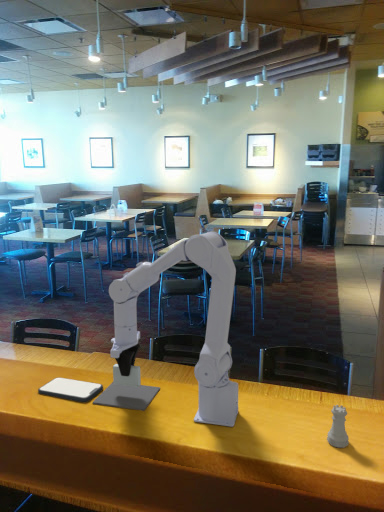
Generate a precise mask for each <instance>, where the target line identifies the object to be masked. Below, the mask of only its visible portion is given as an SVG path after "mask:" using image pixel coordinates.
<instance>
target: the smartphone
mask: <svg viewBox="0 0 384 512" xmlns="http://www.w3.org/2000/svg"><path fill="white" fill-rule="evenodd" d="M103 391H104V385H103V384H102V383H96V382H90V381H85V380H78V379H77V380H76V379H71V378H64V377H55V378H53V379H52V380H50V381H48V382H47V383H45V384H44V385H42V386H41V387H38V389H37V393H38V394H40V395H44V396H49V397H54V398H58V399H64V400H70V401H74V402H79V403H88V402H90V401H91V400H92V399H94V398H95V397H96V396H97V395H98V394H101V393H102V392H103Z"/></svg>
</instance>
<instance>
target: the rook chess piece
mask: <svg viewBox="0 0 384 512" xmlns="http://www.w3.org/2000/svg"><path fill="white" fill-rule="evenodd" d="M331 413H332V416H331V419H332V424H331V428H330V429H329V431H328V432H327V436H326V441H327V443H329V444H330V445H331V446H332V447H335V448H339V449H344V448H346V447H347V446H349V443H350V442H349V435H348V434H347V431H346V426H345V425H346V421H347V419H346V416H347V415H348V412H347V408H346V407H345V406H343V405H339V404H336V405H333V406H332V409H331Z"/></svg>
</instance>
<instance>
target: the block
mask: <svg viewBox="0 0 384 512" xmlns="http://www.w3.org/2000/svg"><path fill="white" fill-rule="evenodd" d="M112 378H113V379H112V380H113V381H112V382H114V384H116V385H124V386H133V387H139V386H140V385H142V384H141V383H142V381H141V366H140V365H134V366H131V369H130V375H129V376H121V373H120V370H119V366H118V364H117V363H115V364H114V365H113V366H112Z"/></svg>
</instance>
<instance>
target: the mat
mask: <svg viewBox="0 0 384 512" xmlns="http://www.w3.org/2000/svg"><path fill="white" fill-rule="evenodd" d="M160 390H161V387H160V386H151V385H144V384H141V385H140V386H139V387H133V386H124V385H116V384H114V382H113V381H112V382H111V383H110V384H109V385H108V386H107V387H105V390H104V389H103V390H102V391H101V392H100V393H99V395H98V396H97V397H96V398H95V399H94V400H93V402H92V404H93V405H99V406H105V407H114V408H121V409H129V410H135V411H144V412H145V410H146V409H147V408H148V406H149V405H150V404H151V402H152V400H154V398H155V396H156V395H157V394H158V393H159V392H160Z"/></svg>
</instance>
